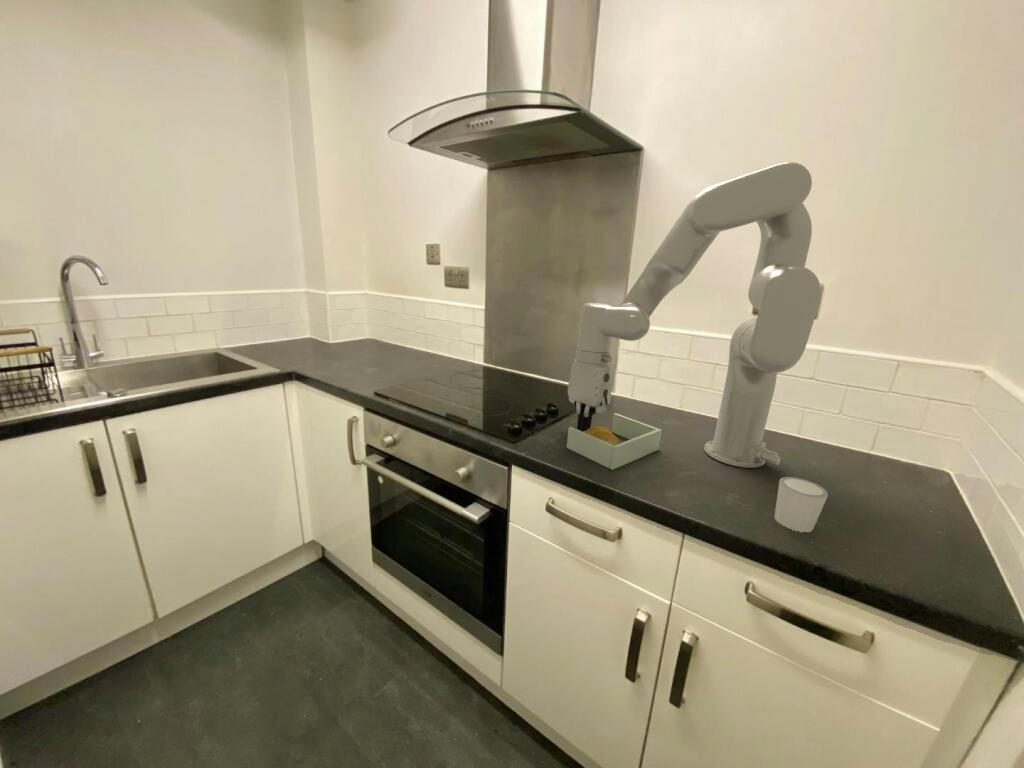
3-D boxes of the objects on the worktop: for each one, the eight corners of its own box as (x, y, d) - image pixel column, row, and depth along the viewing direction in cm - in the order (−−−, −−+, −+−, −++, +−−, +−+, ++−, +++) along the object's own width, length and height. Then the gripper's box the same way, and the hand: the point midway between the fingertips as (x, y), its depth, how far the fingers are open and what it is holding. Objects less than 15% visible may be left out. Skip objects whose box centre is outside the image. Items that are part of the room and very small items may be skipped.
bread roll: (608, 437, 104) (610, 422, 103) (622, 452, 96) (625, 436, 95) (576, 437, 103) (578, 422, 102) (588, 453, 94) (590, 437, 93)
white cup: (798, 511, 75) (808, 476, 73) (827, 535, 69) (839, 497, 67) (761, 510, 75) (770, 475, 73) (787, 534, 68) (797, 496, 66)
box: (658, 449, 98) (661, 429, 96) (612, 469, 87) (615, 447, 85) (613, 431, 107) (615, 413, 106) (566, 447, 96) (568, 427, 95)
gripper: (628, 362, 95) (617, 436, 100) (578, 349, 106) (571, 417, 111) (607, 365, 90) (597, 443, 95) (558, 351, 101) (551, 422, 106)
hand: (583, 429), depth 103 cm, fingers closed
